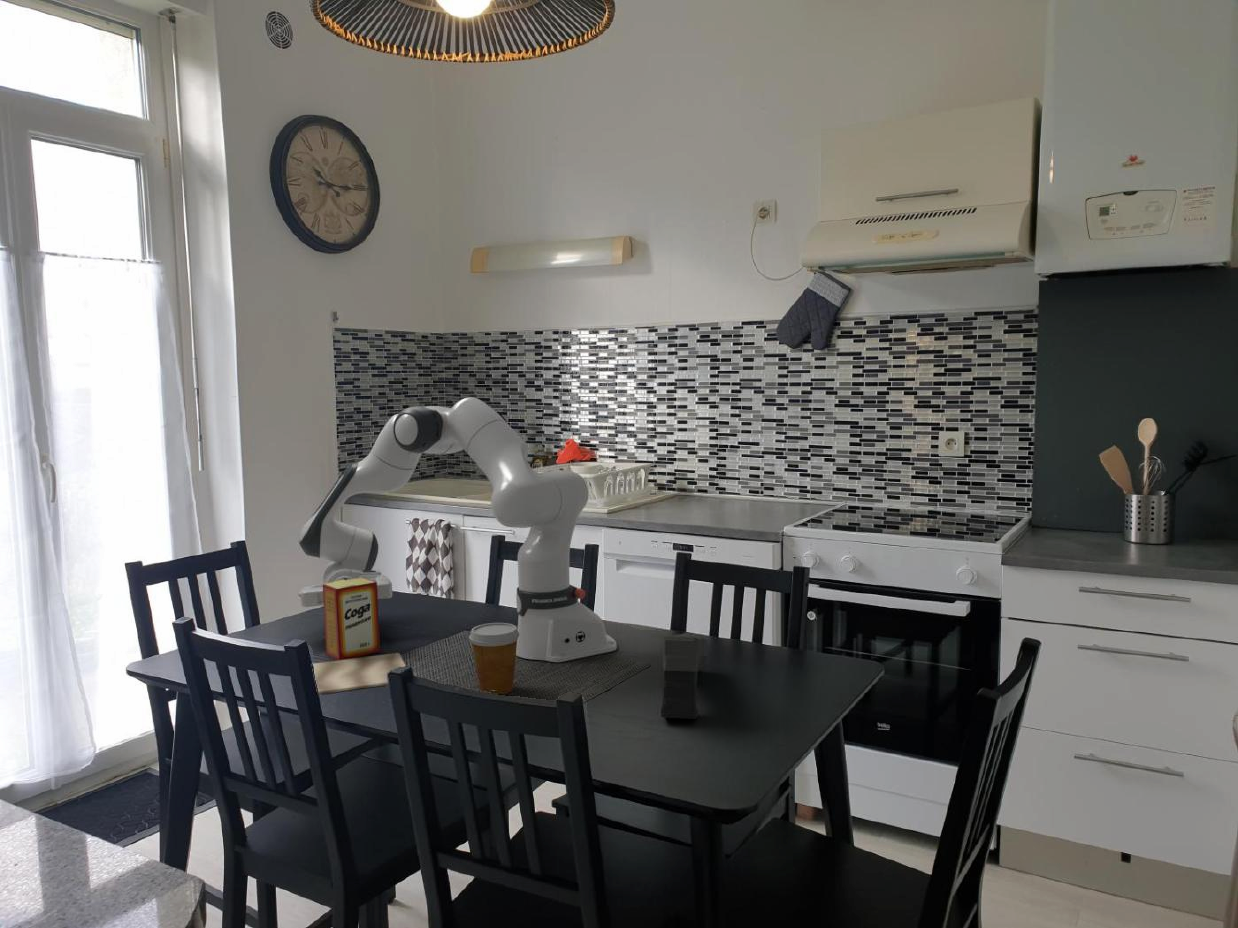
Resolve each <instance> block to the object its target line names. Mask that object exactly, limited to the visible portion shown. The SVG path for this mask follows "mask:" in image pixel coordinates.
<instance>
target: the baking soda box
mask: <svg viewBox="0 0 1238 928" xmlns="http://www.w3.org/2000/svg"><path fill="white" fill-rule="evenodd" d="M322 584H323V583H322ZM323 600H324V605H323V614H324V615H323V616H324V633H325V634H324V635H325V649H326V656H329V657H331V658H333V659H335V661H338V660H346V659H354V658H360V657H362V656H363V657H364V656H367V655H371V654H375V653H376V654H377V653H380V652H381V644H380V643H381V639H380V619H379V601H378V600H379V599H378V596H377V582H376V581H373V580H370V579H367V578H364V577H363V578H356V579H350V580H339V581H335V582H331V583H327V584H323Z"/></svg>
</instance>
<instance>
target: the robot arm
mask: <svg viewBox="0 0 1238 928" xmlns="http://www.w3.org/2000/svg"><path fill="white" fill-rule="evenodd" d="M465 452H466V453H467V455H468V456H469V457H470V458H471V460H472V461H473V462H475V464H476V465H477V467H478V468H479V469H480V470H481V471H482V472H483V473H484V475H485V476H486V477H487V479H488V481H489V482H490V484H491V487H492V494H491V496H490V497H491V498H490V506H491V511H492V514H493V516H494V518H495V519H496V521H497V522H498V523H499V524H501V525H503V527H507V528H514V529H515V528H516V529H517V528H519V529H528V528H529V531H528V533H527V534H528V535H527V537H526V538H525V541H524V543H523V544H522V545H521V546H520V548H519V549H518V553H517V575H518V576H517V577H518V578H517V581H518V586H517V588H516V596H515V597H516V598H515V599H516V601H515V602H516V603H515V604H516V612H517V614H518V620H517V631H518V632H519V637H518V640H517V647H516V657H519V658H521V659H522V658H523V659H526V660H527V659H528V660H535V661H536V660H537V661H546V662H553V663H562V662H567V661H573V660H576V659H581V658H587V657H591V656H596V655H600V654H605V653H609V652H613V651H616V650H617V648H618V646H617V642H616V640H615V639H614V638H613V637H612V636H610V635H609V634H607V633H606V626H605V624H604V621H603V619H602V618H601V617H600V616H599V615H598V614H597V613H596V612H595V611H593V610H592V609H590V608H589V607H587V606H586V605H585V604H583V603H582V602H580V601H579V599H580V600H583V599H584V598H585V597H586V591H585V590H584V589H582V588H581V587H576V586H574V585H572V584H570V553H571V552H570V550H571V544H572V540H573V534H574V531H575V527H576V524H577V521H578V518H579V516H580V515H581V512H582V511H583V510H584V508H585V507H586V506H587V504H588V501H589V487H588V483H587V482H586V481H585V479H584V478H583V477H582V476H581V475H580V474H579V473H577V472H574V471H569V470H563V469H555V470H554V469H553V470H550V471H543V472H538V471H536V470H534V469H533V468H532V467H531V465H530V464H529V462H528V460H527V459H528V457H529V448H528V445H527V443H526V442H525V441H524V440H523V439H522V438H521V436H520V435H519V434H518V433H517V432H516V431H515V430H514V429H513V428H512V427H511V425H509V423H508V422H507V421H506V420H505V419H504V418H503V417H502V416H501V415H500V414H499V413H498V412H496V410H494V409H493V408H492V407H491V406H489V405H488V404H487V403H485V402H484V401H483V400H481V399H479V398H477V397H474V396H473V397H472V396H471V397H464V398H462V399H460V400H459V401H457V402H456V403H455V404H454V405H453V406H452V407H451V408H450V407H446V406H439V405H427V406H426V405H425V406H423V405H416V406H415V405H414V406H410V407H407V408H404V409H403V410H401V411H400V412H399V413H397V414H394V415H392V416H391V417H390V418H389V419H388V421H386V423H385V425H384V426H383V428H382V430H381V431H380V433H379V435H378V436H377V439H376V440H375V442H374V445H373V446H372V448H371V450H370V452H369V453H368V455H366V456H365V458H364V459H362V460H360V461H358V462H353V463H351V464H349V465H348V466H347V467H346V468H345V469H344V471H342V473H341V474H340V476H339V477H338V479H337V480H336V481H335V483H334V484H333V486H332V487H331V489H330V490H329V491H328V493H327V494H326V496H325V497H324V499H323V500H322V502H321V503H320V504H319V506H318V507H317V508H316V510H315V511H314V512H313V514H312V515H311V517H310V518H309V519H308V520H307V521H306V522H305V523H304V525H303V527H302V528H301V531H300V533H299V538H298V544H299V546H300V547H301V549H302V551H303V552H304V554H305V555H306V556H308V557H309V556H310V557H312V558H313V557H314V558H319V559H324V560H327V561H331V562H330V563H328V564H327V565H326V567H325V568H324V570H323V573H322V577H321V578H322V579H321V580H322V583H319V584H312V585H306V586H303V587H302V588H301V589H300V591H298V595H297V596H298V597H300V602H301V604H300V605H301V607H303V608H311V607H321V606H324V600H323V584H327V583H331V582H335V581H339V580H350V579H356V578H363V577H364V578H367V579H370V580H373V581H376V582H377V596H378V600H385V599H391V598H392V597H393V584H392V581H391V579H390V578H388V577H387V576H386V575H382V571H381V570H373V568H374V565H375V564H376V561H377V559H378V558H377V557H378V555H379V542H378V539H377V536H376V535H375V532H374V531H371V530H367V529H364V528H362V527H358V526H354V525H351V524H348V523H344V522H342V521H338V520H336V519H334V518H335V517H336V515H337V514H338V512H339V511H340V509H342V506H343V505H344V504H345V502H346V501H347V500H348V499H349V498H351V497H352V496H354V495H358V494H367V493H369V494H370V493H371V494H374V493H380V494H385V493H391V492H395V491H398V490H400V489H402V488H403V487H405V486H406V485H407V484H408V482H409V481H410V479H411V478H412V476H413V475H414V472H415V470H416V467H417V465H418V463H419V461H420V459H421V456H422V455H423V454H426V455H427V454H430V455H433V454H434V455H450V454H461V453H465Z"/></svg>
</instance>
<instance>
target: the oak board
mask: <svg viewBox="0 0 1238 928" xmlns="http://www.w3.org/2000/svg"><path fill="white" fill-rule="evenodd" d="M312 664H313V666H314V674H315V679H314V681H315V680H316V684H317V688H318V695H324V694H330V693H331V694H332V693H338V692H346V691H351V690H352V691H354V690H359V689H361V690H362V689H367V688H368V689H369V688H374V687H382V686H383V687H384V686H389V685H388V681H387V672H389V671H390V670H394V669H396V668H398V667H405V666H406V664H405V661H404V659H403V658H402V656H401V654H400V652H392V653H386V654H379V655H377V654H376V655H372V656H371V655H370V656H363V657H362V656H360V657H355V658H350V659H346V660H333V661H330V660H329V661H324V662H317V663H312ZM406 667H407V666H406ZM314 674H313V675H314ZM316 684H315V685H316Z"/></svg>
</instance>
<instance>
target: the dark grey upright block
mask: <svg viewBox="0 0 1238 928" xmlns="http://www.w3.org/2000/svg"><path fill="white" fill-rule="evenodd" d="M662 644H663V648H662V649H663V650H662V651H663V653H662V657H663V658H662V659H663V660H662V661H663V662H662V663H663V665H662V667H663V673H662V702H661V708H660V717H662V718H667V719H684V720H685V719H687V720H688V719H689V720H691V719H692V720H696V719H697V718H698V716H699V708H698V707H697V700H698V689H697V682H698V673H699V672H701V671H702V670H703V667H704V666H705V664H706V663H705V662H706V661H707V658H708V654H709V651H708V650H709V647H708V645H709V641H708V640H707V639H705V638H704V637H701V636H700V635H696V634H694V633H691V632H684V633H682V634H681V633H680V634H675V635H674V634H673V635H672V636H664V637H663V643H662Z"/></svg>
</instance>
